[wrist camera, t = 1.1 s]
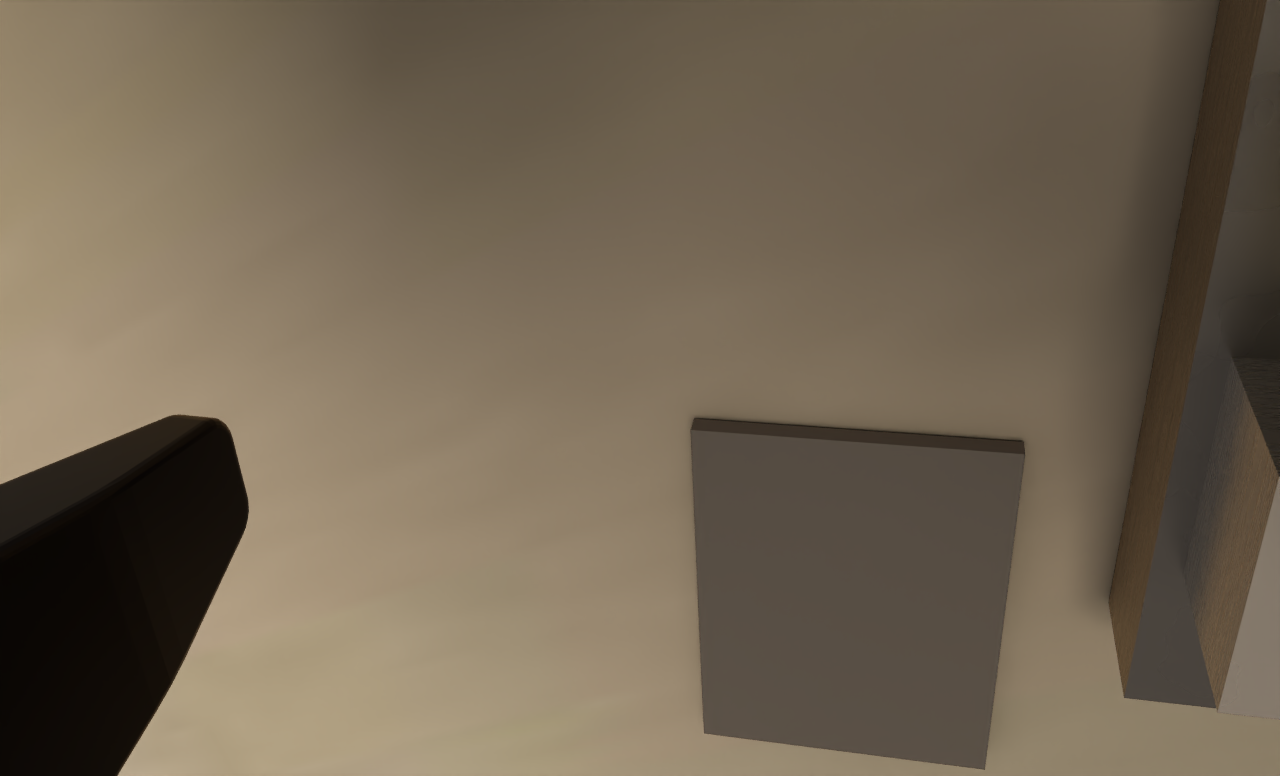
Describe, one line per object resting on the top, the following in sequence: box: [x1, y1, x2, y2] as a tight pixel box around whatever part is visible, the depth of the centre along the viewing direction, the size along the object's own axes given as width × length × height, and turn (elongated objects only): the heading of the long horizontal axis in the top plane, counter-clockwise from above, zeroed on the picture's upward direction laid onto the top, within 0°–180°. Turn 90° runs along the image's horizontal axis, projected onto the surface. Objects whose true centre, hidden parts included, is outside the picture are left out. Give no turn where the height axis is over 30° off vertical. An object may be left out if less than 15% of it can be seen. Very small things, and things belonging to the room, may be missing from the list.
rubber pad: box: [691, 419, 1025, 770], centre depth 24 cm, size 8×6×1 cm
